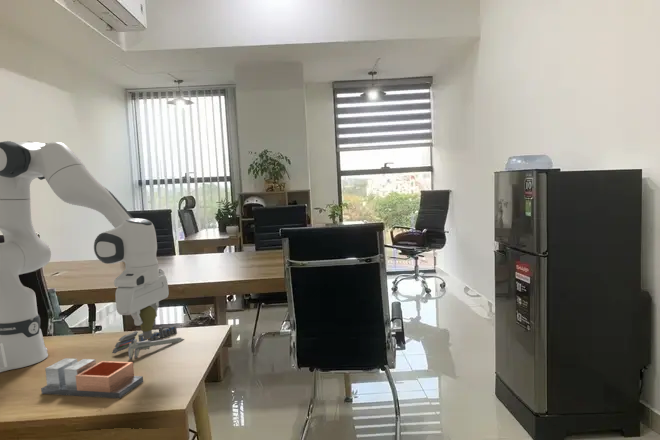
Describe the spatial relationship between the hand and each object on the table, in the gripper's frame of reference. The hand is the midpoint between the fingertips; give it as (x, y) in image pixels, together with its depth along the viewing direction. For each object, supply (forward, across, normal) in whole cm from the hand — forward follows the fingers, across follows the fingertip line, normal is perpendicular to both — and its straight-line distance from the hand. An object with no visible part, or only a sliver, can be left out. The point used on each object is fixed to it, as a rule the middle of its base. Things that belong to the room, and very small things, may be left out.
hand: (146, 321), depth 135 cm
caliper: (+16, -17, -8) cm, 25 cm away
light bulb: (+6, 0, 0) cm, 6 cm away
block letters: (+16, -22, -16) cm, 31 cm away
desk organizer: (+15, +12, -8) cm, 21 cm away
